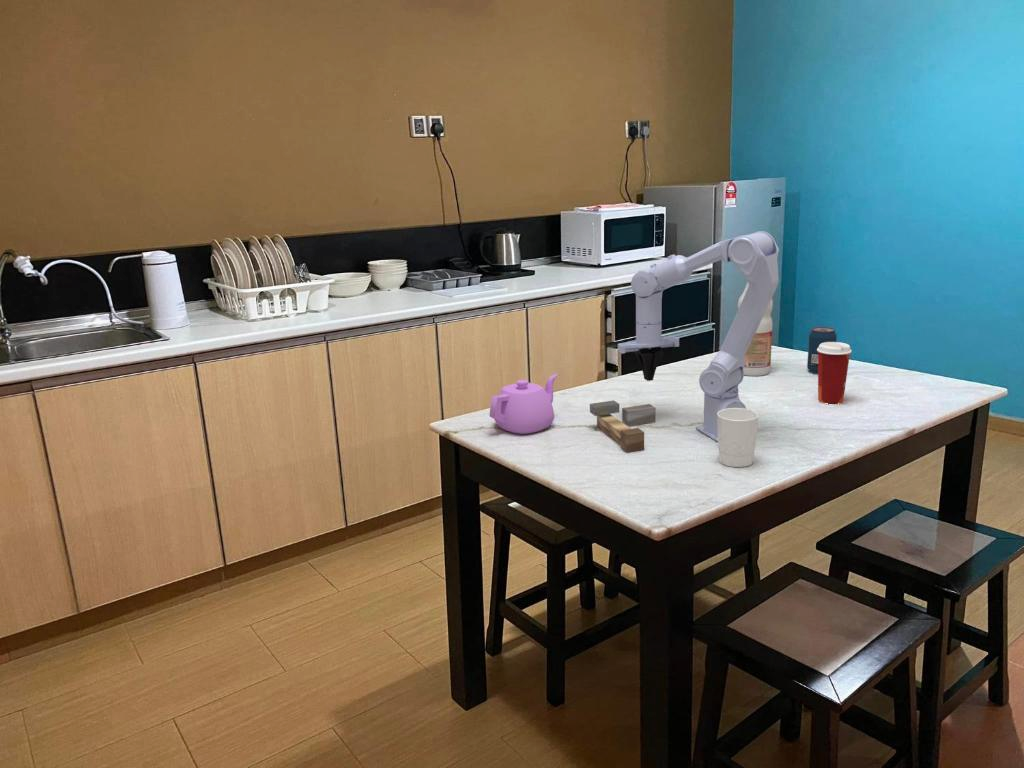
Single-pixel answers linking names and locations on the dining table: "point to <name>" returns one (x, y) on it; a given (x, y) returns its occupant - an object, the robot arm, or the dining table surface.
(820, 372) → the paper cup
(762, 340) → the fruit juice
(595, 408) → the bar
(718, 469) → the dining table surface
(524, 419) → the teapot
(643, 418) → the brown grey blocky piece
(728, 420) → the white cup
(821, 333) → the soda can
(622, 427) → the arm
